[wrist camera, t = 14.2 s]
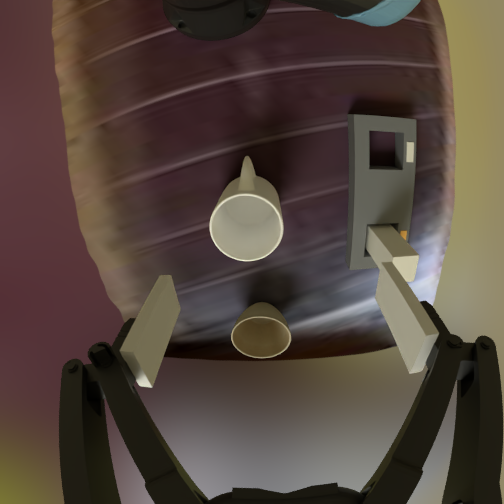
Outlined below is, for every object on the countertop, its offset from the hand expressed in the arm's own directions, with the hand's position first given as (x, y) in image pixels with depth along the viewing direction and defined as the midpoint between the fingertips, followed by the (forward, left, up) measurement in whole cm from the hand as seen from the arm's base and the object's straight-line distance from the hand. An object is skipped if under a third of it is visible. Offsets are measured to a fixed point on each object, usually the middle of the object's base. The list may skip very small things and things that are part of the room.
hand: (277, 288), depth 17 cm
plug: (+9, +17, -27) cm, 33 cm away
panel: (+2, +17, -27) cm, 32 cm away
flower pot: (+24, -3, -27) cm, 36 cm away
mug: (+1, -3, -27) cm, 27 cm away
